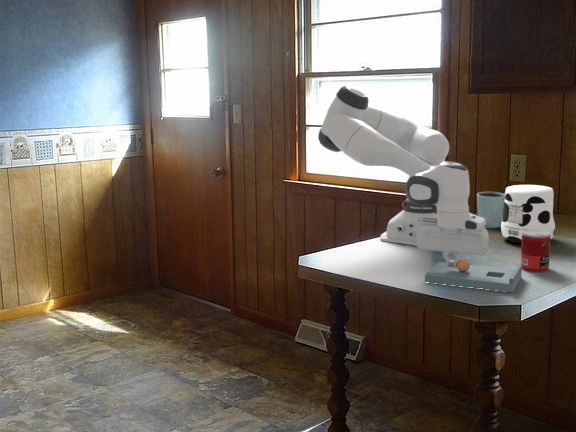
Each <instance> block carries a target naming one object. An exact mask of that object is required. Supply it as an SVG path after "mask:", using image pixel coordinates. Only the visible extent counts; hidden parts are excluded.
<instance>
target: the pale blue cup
mask: <svg viewBox="0 0 576 432" xmlns="http://www.w3.org/2000/svg"><path fill="white" fill-rule="evenodd" d="M476 203H477V205H476V207H477V216H479V217H482V218H484V219H485V220H486V224H485V226H484V227H485V228H486V229H496V228H501V223H502V219H503V216H504V211H505V193H502V192H498V191H482V192H481V191H480V192H478V193H476Z"/></svg>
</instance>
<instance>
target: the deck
mask: <svg viewBox="0 0 576 432" xmlns="http://www.w3.org/2000/svg"><path fill="white" fill-rule="evenodd" d="M522 276H523V269H522V265H521V263H520V264H517V266H516V268H507V267H497V266H495V267H494V266H488V265H487V266H486V265H477V264H469V269H468V270H467V271H465V272H462V271H459V270H458V268H457V267H456V268H455V267H447V266H446V261H438V262H437V263H435V265H434V266H433V267H432V268H430V269H429V270H428V271H427V272H426V273H425V275H424V283H425V282H429V283H437V284H446V285H455V286H463V287H473V288H483V289H489V290H498V291H506V292H513V291H514V292H515V290H516V289H517V287H518V286H519V284H520V282H521V279H522ZM516 286H517V287H516ZM515 288H516V289H515ZM506 292H505V293H506ZM514 292H513V293H514Z"/></svg>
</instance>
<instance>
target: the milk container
mask: <svg viewBox="0 0 576 432" xmlns="http://www.w3.org/2000/svg"><path fill="white" fill-rule="evenodd" d="M553 189H554V188H553V187H550V186H545V185H538V184H517V185H516V184H515V185H511V186H507V187H506V188H505V192H504V194H505V201H504V210H503V217H502V223H501V227H500V230H501V235H502V237H503V238H504V239H506V240H507V241H510V242H513V243H519V244H522V232H523V231H525V230H544V231H547V232H550V241H551V240H552V239H553V238H554V236H555V230H556V223H555V220H554V213H553V211H554V197H555V196H554V190H553Z"/></svg>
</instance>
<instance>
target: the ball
mask: <svg viewBox="0 0 576 432" xmlns="http://www.w3.org/2000/svg"><path fill="white" fill-rule="evenodd" d="M469 265H470V262H469V261H468V260H467V259H463V258H461V259H460V260H459V259H458V261H457V268H458V270H459V271H462V272H465V271H467V270H468V269H469Z"/></svg>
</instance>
